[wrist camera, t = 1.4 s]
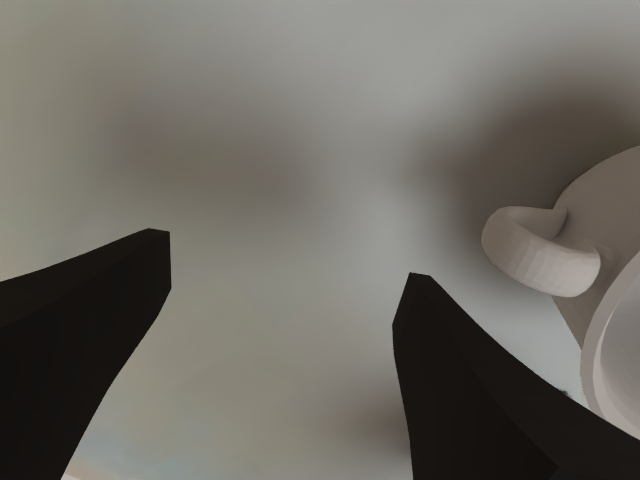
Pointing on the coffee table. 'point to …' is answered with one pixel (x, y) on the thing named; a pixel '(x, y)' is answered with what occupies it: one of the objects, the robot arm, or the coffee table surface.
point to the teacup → (586, 275)
